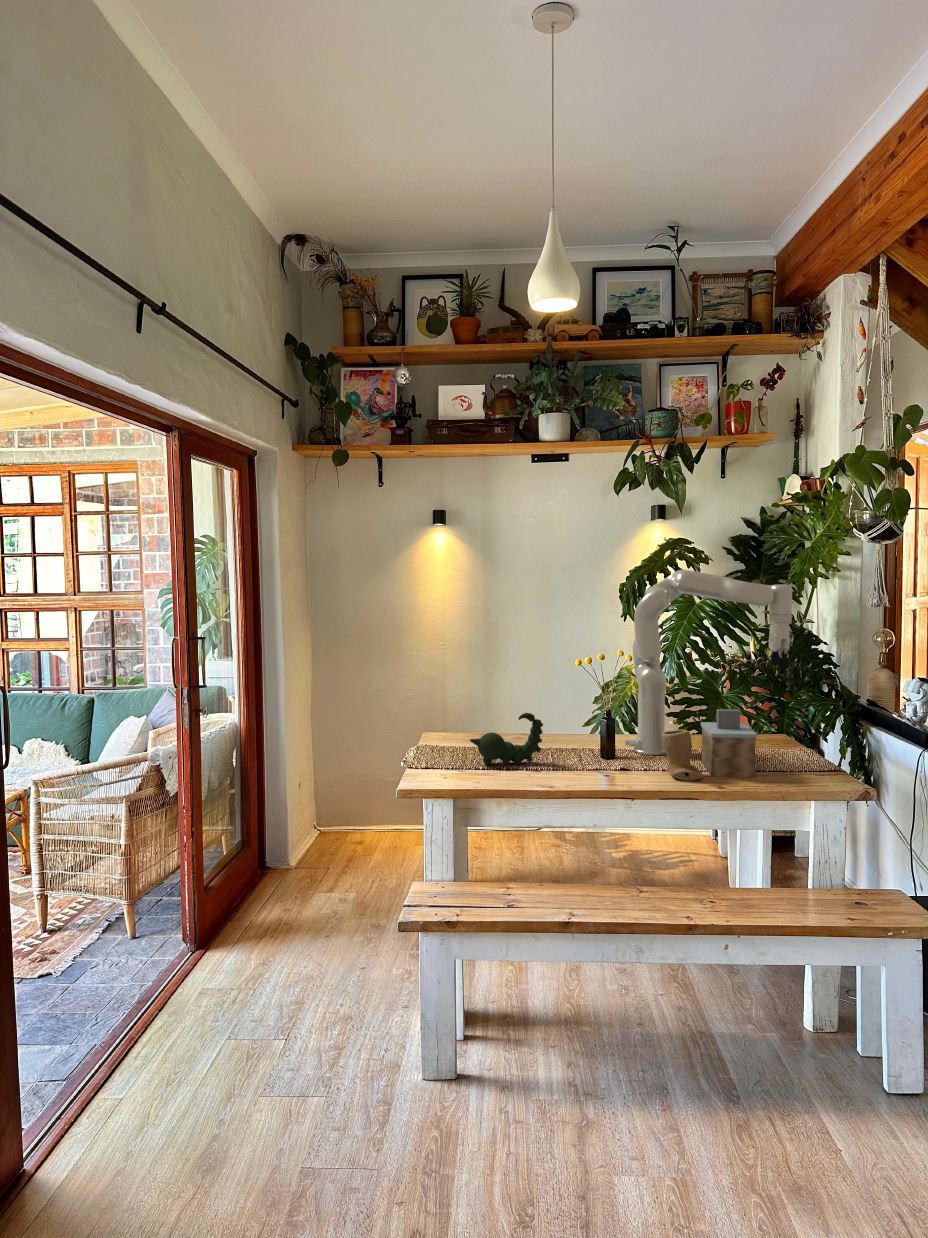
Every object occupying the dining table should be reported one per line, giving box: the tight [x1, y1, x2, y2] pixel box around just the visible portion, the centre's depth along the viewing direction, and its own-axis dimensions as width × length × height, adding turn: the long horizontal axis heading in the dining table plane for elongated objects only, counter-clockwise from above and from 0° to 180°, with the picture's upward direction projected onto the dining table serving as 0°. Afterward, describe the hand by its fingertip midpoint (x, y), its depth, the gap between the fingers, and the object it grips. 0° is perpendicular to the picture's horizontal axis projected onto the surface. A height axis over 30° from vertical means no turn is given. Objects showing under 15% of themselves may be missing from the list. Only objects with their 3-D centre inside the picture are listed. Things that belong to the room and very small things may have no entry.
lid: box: [700, 708, 758, 739], centre depth 283 cm, size 14×18×7 cm
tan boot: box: [661, 729, 704, 782], centre depth 277 cm, size 15×12×15 cm
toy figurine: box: [469, 712, 544, 766], centre depth 295 cm, size 9×19×25 cm
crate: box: [701, 727, 757, 778], centre depth 283 cm, size 14×18×13 cm
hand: (779, 666), depth 304 cm, fingers open, 9 cm apart
